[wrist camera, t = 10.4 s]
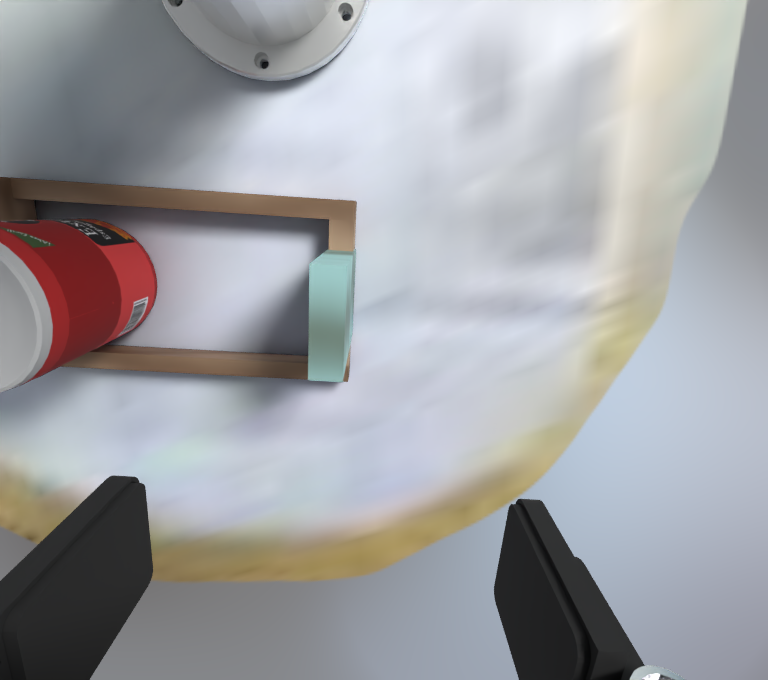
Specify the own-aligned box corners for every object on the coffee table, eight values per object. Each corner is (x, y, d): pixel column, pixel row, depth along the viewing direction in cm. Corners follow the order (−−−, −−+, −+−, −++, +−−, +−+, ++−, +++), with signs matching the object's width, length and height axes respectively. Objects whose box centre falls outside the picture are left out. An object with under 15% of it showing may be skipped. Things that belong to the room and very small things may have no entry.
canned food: (143, 212, 28) (3, 213, 17) (174, 326, 30) (67, 388, 20) (31, 224, 28) (-176, 233, 18) (70, 338, 30) (-92, 406, 20)
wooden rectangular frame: (4, 177, 27) (-170, 162, 18) (358, 201, 28) (349, 197, 19) (38, 356, 31) (-94, 413, 22) (350, 373, 31) (340, 435, 23)
